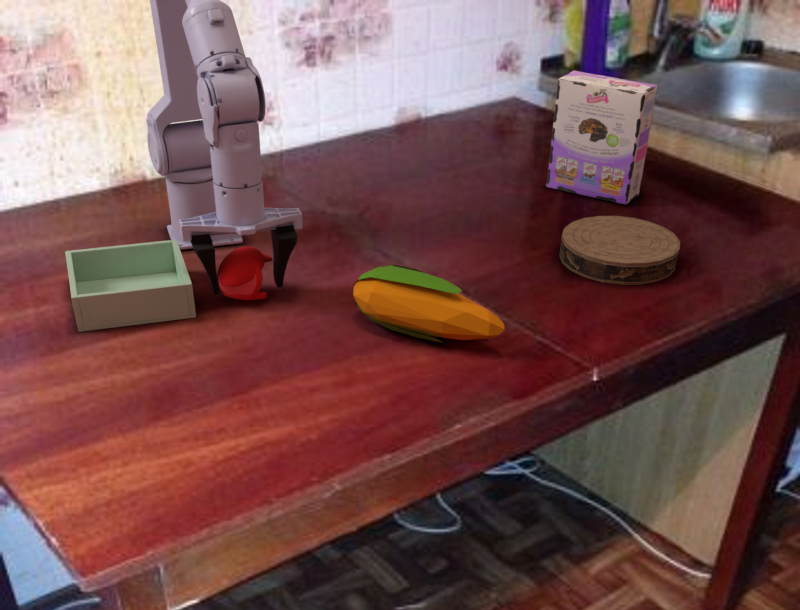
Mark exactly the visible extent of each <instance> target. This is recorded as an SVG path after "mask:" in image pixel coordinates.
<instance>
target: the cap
mask: <svg viewBox="0 0 800 610" xmlns="http://www.w3.org/2000/svg"><path fill="white" fill-rule="evenodd" d="M270 262H273V257H272V256H270V255H268V254H265V253H263V252H262V251H261V250H259V248H256V247H253V246H249V245H247V246H241V247H237V248H235V249H233V250H232V251H230V252H229V253H227V254H226V255H225V256H224V258H223V259H222V261H221V262H220V264H219V267H218V270H217V279H218V284H219V291H220V293H221V294H222V295H223V296H225V297H228V298H230V299H236V300H241V301H254V300H255V301H257V300H265V299H267V297H268V295H267V294H268V293H267V292H266V291H260V290H261V288H262V284H263V272H262V270H263V269H264V267H265V264H266V263H270Z"/></svg>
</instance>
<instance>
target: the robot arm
mask: <svg viewBox="0 0 800 610" xmlns="http://www.w3.org/2000/svg"><path fill="white" fill-rule="evenodd" d="M149 5H150V9H151V17H152V25H153V30H154V37H155V44H156V51H157V57H158V62H159V68H160V75H161V84H162V88H163V89H162V90H163V96H162V97H161V98H160V99H159V100H158V101H157V102H156V103H155V104H154V105H153V106H152V107H151V108H150V110H149V111H148V112H147V114H146V119H145V120H146V128H147V134H146V135H147V136H146V138H147V139H146V140H147V141H146V142H147V148H148V154H149V157H150V161H151V165H152V167H153V168H154V171H155V172H156V173H157V174H159V176H161V177H164V178H165V185H166V186H165V187H166V193H167V200H168V208H169V213H170V214H169V216H170V221H171V223H170V224H168V225H166V229H167V232H168V235H169V238H170V239H169V240H177V242H178V245H179V248H180V251H182V250H190V249H193V251H194V253H195V255H196V256H197V258H198V259H199V261H200V262H201V264H202V266H203V268H204V269H205V272H206V274H207V277H208V280H209V283H210V288H211V291H212V295H213V296H220V295H221V294H220V293H221V291H220V286H219V283H218V273H217V263H216V249H215V247H219V246H228V245H237V244H242V243H243V242H244V241H243V240H244V239H243V236H250V235H255V234H256V233H257V232H264V231H265V232H266V231H269V232H270V238H271V246H272V247H271V248H272V256H273V257H272V259H273V260H272V263H273V264H272V265H273V269H272V270H273V271H272V274H273V282H274V284H275V286H276V287H277V289H280V288H283V287H284V280H285V275H286V269H287V266H288V264H289V260H290V258H291V255H292V253H293V251H294V249H295V248H296V246H297V244H298V233H297V232H296V230H303V229H304V228H303V213H302V211H301V210H300V208H298V207H293V208H291V207H289V208H279V207H265V198H264V183H263V168H262V156H261V155H262V153H261V140H260V124H259V123H261V122H263V121H264V119H265V117H266V108H267V107H266V106H267V105H266V95H265V94H266V93H265V90H264V85H263V81H262V77H261V75H260V73H259V70H258V69H257V67H256V66H255V65H254V63H253V61H252V58H251V57H249V56H248V57H247V56H246V53H245V50H244V47H243V44H242V39H241V38H240V33H239V29H238V27H237V26H238V25H237V23H236V19H235V17H234V13H233V10H232V8H231V7H230V6H229V5H228V4H227V3H225V2H224V1H222V0H149ZM258 122H259V123H258Z"/></svg>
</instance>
